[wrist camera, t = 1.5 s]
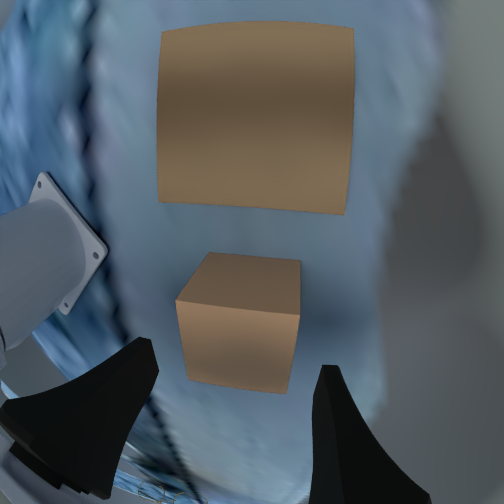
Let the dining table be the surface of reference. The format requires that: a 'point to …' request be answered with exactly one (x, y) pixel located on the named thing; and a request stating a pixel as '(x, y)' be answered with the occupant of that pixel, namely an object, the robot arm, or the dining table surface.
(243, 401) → the dining table surface
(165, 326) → the dining table surface
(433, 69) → the dining table surface
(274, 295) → the terracotta cube
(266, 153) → the walnut base
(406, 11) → the dining table surface
